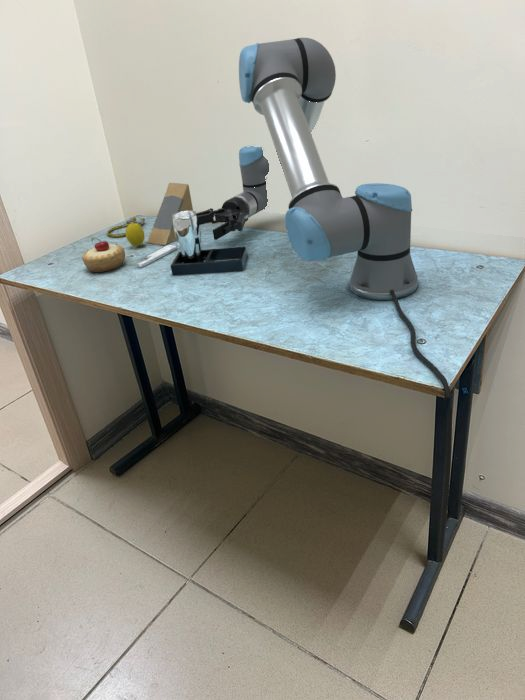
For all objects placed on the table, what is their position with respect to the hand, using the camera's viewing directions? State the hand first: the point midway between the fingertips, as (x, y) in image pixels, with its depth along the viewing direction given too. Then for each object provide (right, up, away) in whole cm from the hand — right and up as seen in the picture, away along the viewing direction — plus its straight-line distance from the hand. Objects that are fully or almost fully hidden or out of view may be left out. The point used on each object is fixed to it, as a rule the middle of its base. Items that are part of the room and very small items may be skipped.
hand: (194, 232), depth 148 cm
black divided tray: (+4, -9, +2) cm, 10 cm away
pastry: (-27, -8, +11) cm, 30 cm away
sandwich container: (-11, +5, +28) cm, 31 cm away
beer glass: (0, -9, +3) cm, 10 cm away
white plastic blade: (-14, -4, +13) cm, 19 cm away
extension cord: (-28, +9, +39) cm, 49 cm away
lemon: (-21, 0, +23) cm, 31 cm away
